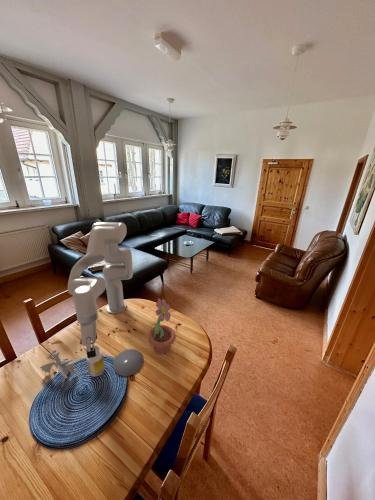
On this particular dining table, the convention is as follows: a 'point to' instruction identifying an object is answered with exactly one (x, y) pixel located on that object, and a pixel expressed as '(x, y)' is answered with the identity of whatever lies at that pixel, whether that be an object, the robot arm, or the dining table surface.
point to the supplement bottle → (96, 363)
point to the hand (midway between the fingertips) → (92, 347)
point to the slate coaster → (128, 362)
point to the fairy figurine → (59, 365)
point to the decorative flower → (162, 330)
